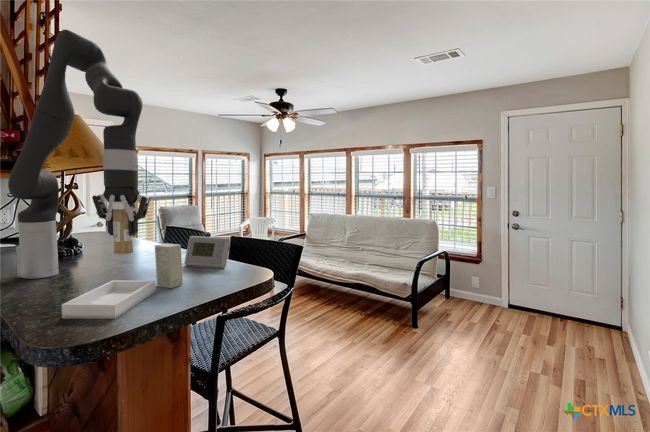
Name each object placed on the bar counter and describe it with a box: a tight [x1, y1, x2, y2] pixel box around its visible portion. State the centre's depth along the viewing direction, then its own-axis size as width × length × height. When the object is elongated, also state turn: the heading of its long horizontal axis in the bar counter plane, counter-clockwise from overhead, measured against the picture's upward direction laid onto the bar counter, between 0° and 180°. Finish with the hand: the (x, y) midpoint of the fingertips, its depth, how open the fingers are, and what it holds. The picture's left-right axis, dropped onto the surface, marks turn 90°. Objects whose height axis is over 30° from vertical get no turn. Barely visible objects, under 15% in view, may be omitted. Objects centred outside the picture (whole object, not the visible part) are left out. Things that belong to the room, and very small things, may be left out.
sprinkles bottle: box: [112, 202, 134, 255], centre depth 92 cm, size 5×5×14 cm
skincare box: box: [154, 242, 183, 289], centre depth 104 cm, size 6×4×12 cm
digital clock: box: [184, 235, 231, 269], centre depth 129 cm, size 16×9×11 cm, turn 67°
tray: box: [61, 279, 157, 320], centre depth 88 cm, size 12×20×3 cm, turn 1°
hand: (123, 234), depth 92 cm, fingers closed on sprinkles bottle, 4 cm apart
